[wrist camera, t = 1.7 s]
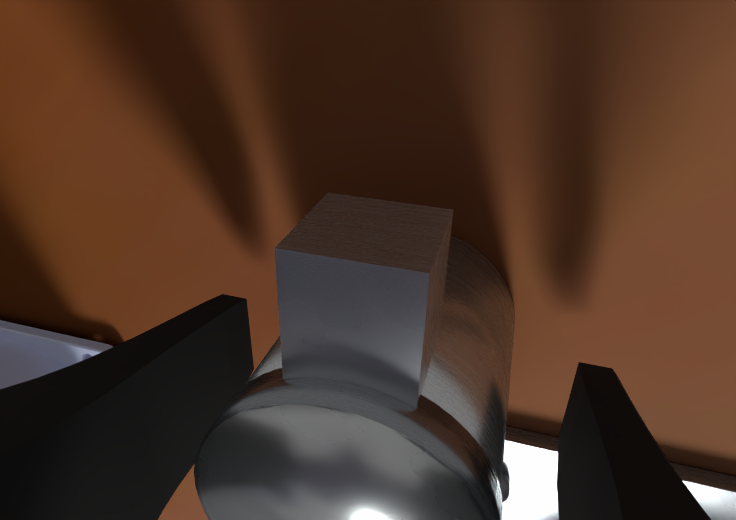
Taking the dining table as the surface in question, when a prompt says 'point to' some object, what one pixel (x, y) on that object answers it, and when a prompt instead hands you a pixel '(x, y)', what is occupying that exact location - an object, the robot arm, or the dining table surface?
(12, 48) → the dining table surface
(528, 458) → the duct flange
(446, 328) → the cylinder with square knob
